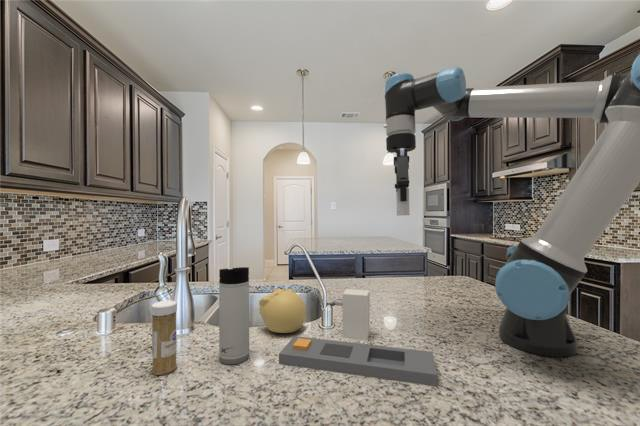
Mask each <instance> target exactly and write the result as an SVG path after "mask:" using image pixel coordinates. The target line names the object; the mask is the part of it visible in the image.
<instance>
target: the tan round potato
mask: <svg viewBox="0 0 640 426" xmlns="http://www.w3.org/2000/svg"><path fill="white" fill-rule="evenodd" d="M258 305H259V310H258V311H259V315H260V317H261V319H262V321H263V323H264V325H265V327H266V329H267V330H269V331H270V332H273V333H279V334H289V333H295V332H297V331H298V330H301V328H302V326H303V325H304V324H305V321H306V316H307V309H306V304H305V302H304V300H303V298H302V297H301V296H300V295H299V294H298V293H297V291H295V290H293V289H292V288H291V289H283V288H276V289H274V290H273V291H272V292H271V293H270V294H267V295H266V296H263V297H261V298H260V299H259V301H258Z"/></svg>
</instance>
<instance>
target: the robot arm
mask: <svg viewBox="0 0 640 426" xmlns="http://www.w3.org/2000/svg"><path fill="white" fill-rule="evenodd" d="M466 81H467V80H466V76H465V73H464V70H463V69H462V68H461V67H460V66H454V67H451V68H445V69H441V70H440V71H436V72H434V73H430V74H427V75H424V76H421V77H418V78H414V76H413V75H412V74H411V73H408V72H401V73H395V74H393V75H390V76H388V78H387V79H386V80H385V85H384V87H385V89H384V90H385V91H384V100H385V101H384V103H385V124H384V125H383V128H384V129H385V133H386V135H385V136H387V137H386V138H385V144H386V146H385V147H386V151H387V152H389V153H393V154H394V153H395V154H396V156H393V166H394V174H396V175H395V176H396V178H395V179H396V180H395V181H396V183H395V184H394V189H395V191H396V216H397V217H399V216H410V214H411V213H410V188H409V186H410V177H409V176H410V175H409V169H410V168H409V167H410V155H408V152H409V153H410V152H412V151H414V150H416V149H417V148H416V147H417V145H416V142H417V141H416V135H415V133H416V111H417V110H423V109H429V108H432V107H433V108H434V109H435V110H436V111H437V112H439V113H440V114H441V115H442V116H443V117H444V118H445V119H447V120H450V121H452V122H453V121H454V122H456V121H461V120H463V119H465V118H477V119H478V118H489V119H490V118H492V119H494V118H497V119H499V118H502V119H503V118H508V119H509V118H510V119H511V118H512V119H514V118H516V119H518V118H522V119H524V118H525V119H527V118H528V119H529V118H530V119H536V118H539V119H540V118H541V119H542V118H543V119H544V118H545V119H551V118H552V119H556V118H557V119H558V118H559V119H593V121H595V122H596V123H597V124H607V125H606V126H605V128H604V129H603V131H602V132H601V134H600V135H599V137H598V138H597V140H596V141H595V143H594V144H593V146H592V147H591V148H590V150H589V152H588V153H587V155H586V156H585V158H584V160H583V161H582V163H581V164H580V166H579V167H578V168H577V170H576V172H574V173H575V174H573V176H572V178H571V179H570V181H569V182H568V183H567V185H566V187H565V188H564V189H563V191H562V193H561V195H559V198H558V199H557V201H556V202H555V203H554V205H553V207H552V208H551V209H550V211H549V213H548V214H547V215H546V217H545V218H544V220H543V222H542V223H541V224H540V226H539V228H538V229H537V231H536V232H535V233H534V235H532V236H529V237H524V238H522V239H521V240H520V241H519V243H518V244H517V245H512V246H509V247H507V250H506V254H505V259H506V263H505V264H504V265H502V266H501V268H500V269H498V272H497V273H496V275H495V280H494V281H495V283H494V284H495V285H494V286H495V292H496V296H497V297H498V299H499V300H500V302H501V303H502V305H503V306H504V307H505V310H504V313H503V316H502V318H501V320H500V323H499V327H498V338H500V340H501V341H502V342H503V343H505V344H507V345H508V346H510V347H513V348H515V349H518V350H519V351H520V350H521V351H523V352H526V353H527V352H528V353H531V354H534V355H540V356H546V357H555V358H557V357H558V358H564V357H565V358H567V357H571V356H574V355H576V354H577V351H578V346H577V338H576V336H575V334H574V331H573V329H572V327H571V323H570V321H569V318H568V316H567V308H568V307H567V306H568V305H569V302H570V297H571V296H570V295H572V292H573V291H574V290H575V289H576V287H577V286H578V285H579V283H580V282H581V281H582V279H583V278H584V276H585V275H586V273H587V272H588V268H587V265H586V264H585V257H586V256H587V255H588V254H589V252H590V251H591V249H592V248H593V247H594V245H595V244H596V243H597V241H598V240H599V239H600V237H601V236H602V235H603V233H604V231H605V230H606V229H607V227H608V226H609V225H610V224H611V223H612V221H613V220H614V218H615V216H617V214H618V213H619V211H620V210H621V208H622V207H623V206H624V204H625V203H626V201H627V200H628V199H629V198H630V197H631V195H632V194H633V193H634V191H635V190H636V188H637V187H638V185H639V184H640V53H639V54H638V55H637V57H636V58H635V59H634V60H633V63H632V65H631V69H630V71H629V72H628V73H622V74H610V75H608V76H607V77H605V78H604V79H602V80H597V81H596V80H595V81H594V80H593V81H575V82H559V83H558V82H556V83H555V82H554V83H541V84H522V85H518V84H517V85H503V86H502V85H499V86H487V87H486V86H485V87H484V86H483V87H470V88H469V87H468V88H467V82H466Z"/></svg>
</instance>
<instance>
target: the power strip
mask: <svg viewBox="0 0 640 426" xmlns="http://www.w3.org/2000/svg"><path fill="white" fill-rule="evenodd" d="M434 357H435V355H434V352H433V351H429V350H428V351H427V350H418V349H410V348H403V347H402V348H401V347H394V346H385V345H375V344H368V343H367V344H366V343H358V342H348V341H341V340H332V339H323V338H314V337H305V336H299V335H298V336H296V335H294V336H293V337H292V338H291V339H290V340H289V342H287V344H286V345H285V346H284V347H283V348H282V349H281V351H280V352H279V353H278V365H285V366H292V367H298V368H307V369H313V370H319V371H320V370H321V371H327V372H334V373H341V374H347V375H355V376H361V377H368V378H375V379H381V380H389V381H395V382H403V383H411V384H417V385H424V386H425V385H426V386H429V387H430V386H431V387H438V372H437V366H436V361H435V358H434Z"/></svg>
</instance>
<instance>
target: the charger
mask: <svg viewBox="0 0 640 426" xmlns="http://www.w3.org/2000/svg"><path fill="white" fill-rule="evenodd" d="M370 292H371V291H370V289H369V290H367V289H354V288H351V289H350V288H346V289H345V290H344V292H343V293H342V299H335V300H334V306H336V307H337V306H339V307H342V338H343V339H344V338H345V339H352V340H353V339H354V340H363V341H368V340H369V336H370V332H371V331H370V329H371V327H370V324H371V323H370V321H371V320H370V319H371V318H370V317H371V315H370V309H371V308H370V307H371V305H370V298H371V297H370Z"/></svg>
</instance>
